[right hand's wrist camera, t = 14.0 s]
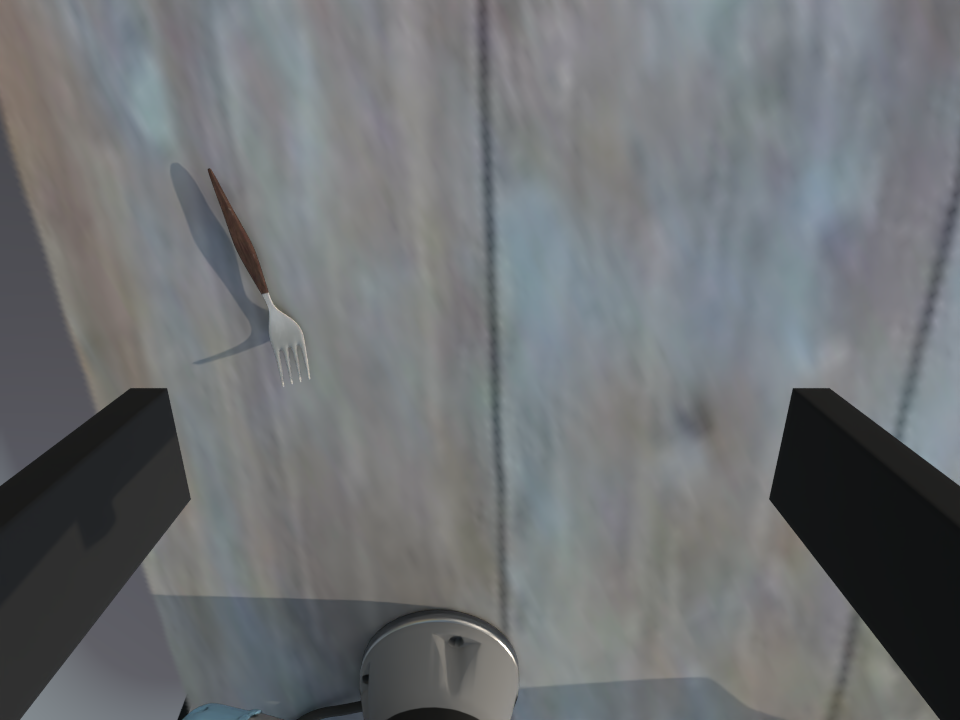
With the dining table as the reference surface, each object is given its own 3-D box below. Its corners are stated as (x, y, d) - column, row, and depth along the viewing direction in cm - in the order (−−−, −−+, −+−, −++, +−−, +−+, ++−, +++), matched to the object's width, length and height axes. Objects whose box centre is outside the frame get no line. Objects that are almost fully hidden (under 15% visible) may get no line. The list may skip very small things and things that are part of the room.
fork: (229, 162, 40) (217, 164, 39) (319, 368, 46) (312, 378, 44) (195, 173, 41) (181, 176, 39) (288, 377, 46) (280, 388, 44)
